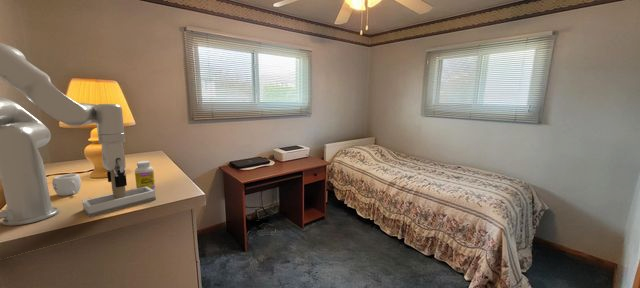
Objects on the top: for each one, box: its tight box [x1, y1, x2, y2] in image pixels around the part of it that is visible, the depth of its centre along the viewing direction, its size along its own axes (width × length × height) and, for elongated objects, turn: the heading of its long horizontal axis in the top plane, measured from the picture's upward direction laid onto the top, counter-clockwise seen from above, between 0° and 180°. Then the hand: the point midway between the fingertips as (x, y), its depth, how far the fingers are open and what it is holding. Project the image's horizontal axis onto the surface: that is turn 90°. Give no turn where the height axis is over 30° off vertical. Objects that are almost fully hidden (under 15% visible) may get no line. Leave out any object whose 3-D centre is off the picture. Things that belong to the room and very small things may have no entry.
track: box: [81, 186, 157, 217], centre depth 96 cm, size 20×10×4 cm, turn 141°
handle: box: [110, 167, 127, 199], centre depth 95 cm, size 5×6×15 cm
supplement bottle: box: [134, 160, 156, 191], centre depth 110 cm, size 7×7×13 cm
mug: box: [51, 173, 82, 197], centre depth 107 cm, size 12×8×8 cm
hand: (117, 183), depth 95 cm, fingers open, 9 cm apart
